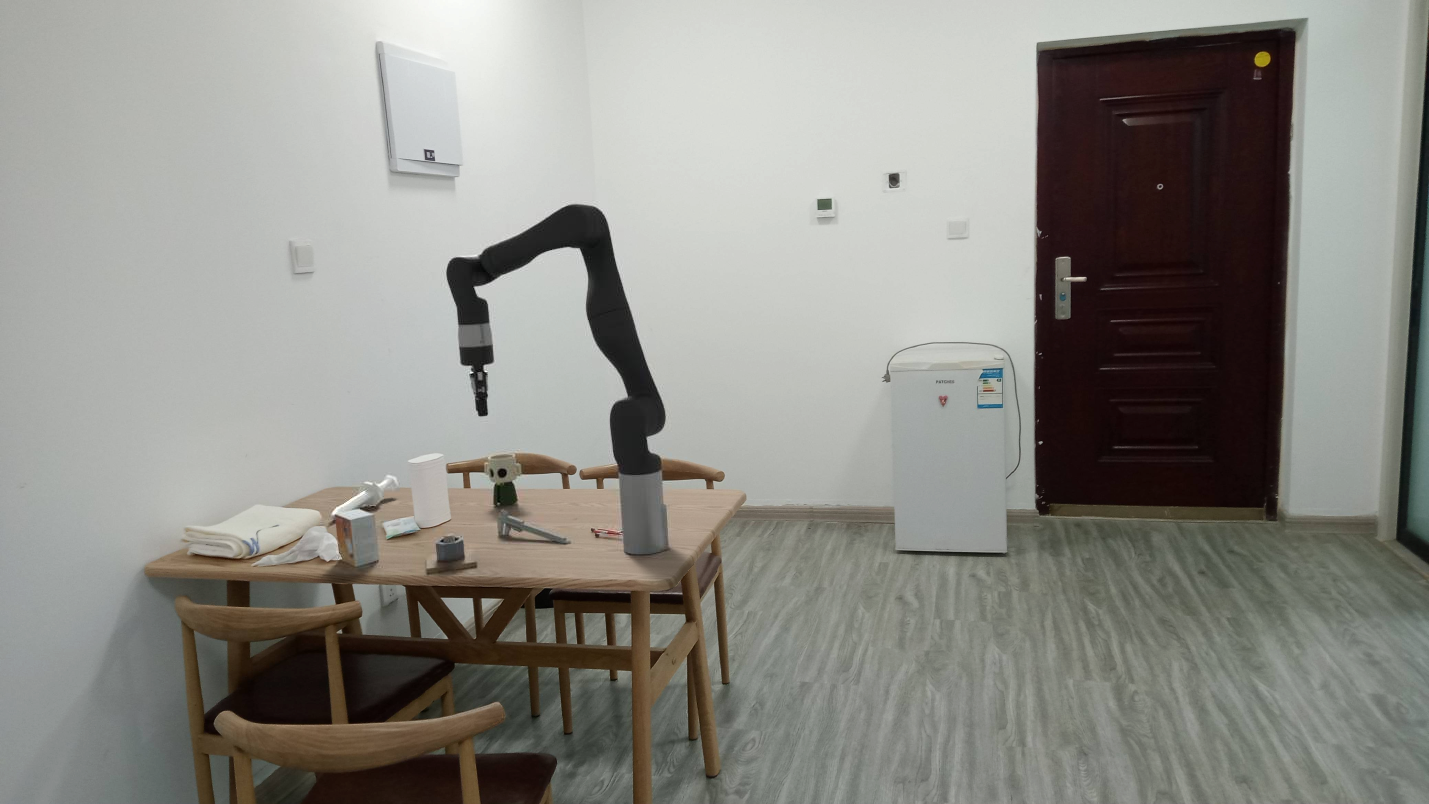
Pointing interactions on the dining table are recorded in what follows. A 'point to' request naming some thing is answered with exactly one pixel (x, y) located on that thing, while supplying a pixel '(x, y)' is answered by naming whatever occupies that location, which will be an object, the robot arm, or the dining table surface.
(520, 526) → the caliper
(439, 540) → the collar ring
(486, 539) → the dining table surface
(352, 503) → the dagger
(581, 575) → the dining table surface
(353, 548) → the small box
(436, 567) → the inverted t stand
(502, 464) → the character mug
